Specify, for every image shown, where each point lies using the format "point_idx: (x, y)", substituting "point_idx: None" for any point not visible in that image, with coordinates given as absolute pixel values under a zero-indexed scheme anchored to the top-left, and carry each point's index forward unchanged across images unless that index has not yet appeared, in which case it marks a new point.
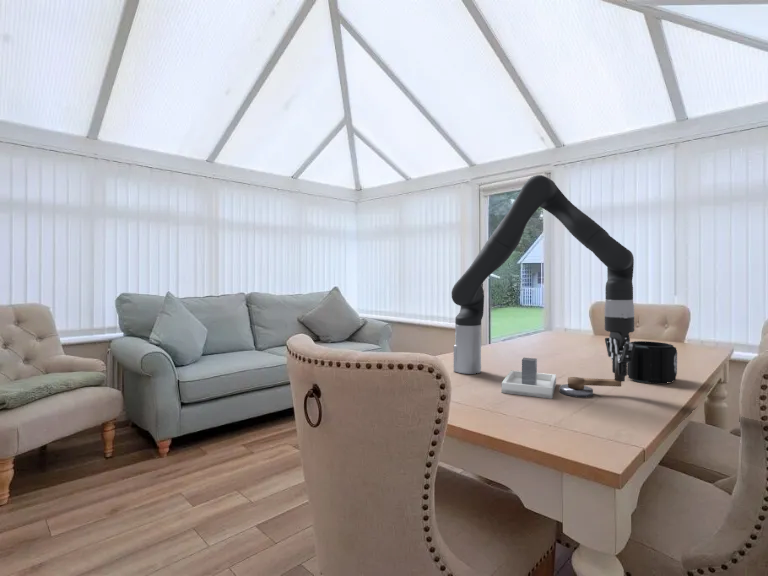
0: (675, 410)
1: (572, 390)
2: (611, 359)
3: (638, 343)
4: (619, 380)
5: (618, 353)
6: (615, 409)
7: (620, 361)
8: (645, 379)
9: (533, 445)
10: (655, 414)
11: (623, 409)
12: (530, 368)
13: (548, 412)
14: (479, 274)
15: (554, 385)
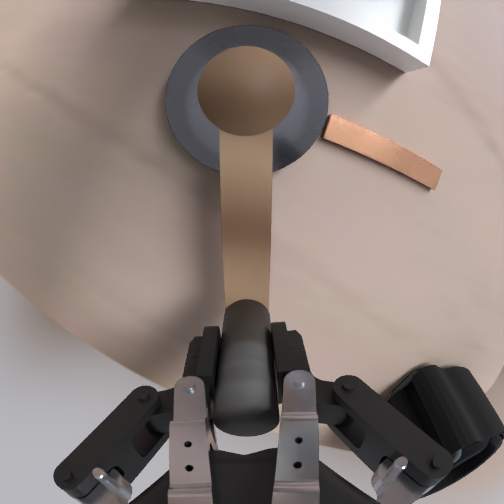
0: (110, 357)
1: (193, 68)
2: (304, 372)
3: (491, 447)
4: (225, 313)
5: (170, 427)
6: (54, 200)
7: (175, 387)
8: (395, 396)
9: None
10: (54, 295)
11: (62, 225)
12: None
13: (18, 12)
14: None
15: (304, 18)
